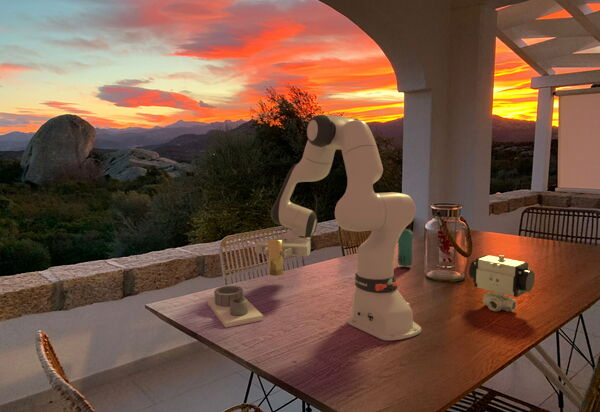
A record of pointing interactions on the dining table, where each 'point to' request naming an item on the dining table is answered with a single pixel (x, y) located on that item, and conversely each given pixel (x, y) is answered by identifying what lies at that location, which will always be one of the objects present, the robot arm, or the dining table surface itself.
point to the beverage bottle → (405, 248)
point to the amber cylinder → (275, 257)
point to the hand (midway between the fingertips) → (274, 253)
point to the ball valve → (501, 280)
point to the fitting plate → (235, 319)
